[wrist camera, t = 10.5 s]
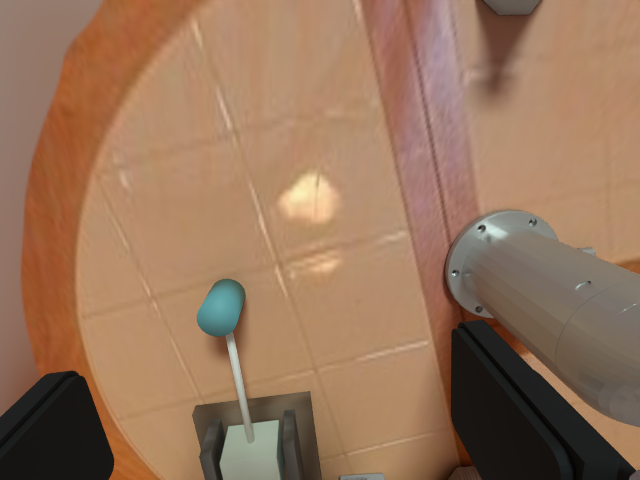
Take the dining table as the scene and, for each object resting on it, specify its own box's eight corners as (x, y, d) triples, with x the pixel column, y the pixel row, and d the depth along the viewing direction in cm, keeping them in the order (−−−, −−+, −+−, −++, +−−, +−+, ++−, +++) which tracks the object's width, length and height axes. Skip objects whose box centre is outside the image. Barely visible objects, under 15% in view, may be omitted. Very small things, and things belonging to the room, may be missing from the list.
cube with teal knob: (254, 274, 36) (247, 297, 31) (285, 458, 43) (283, 500, 39) (196, 281, 36) (179, 305, 31) (237, 464, 43) (229, 507, 38)
